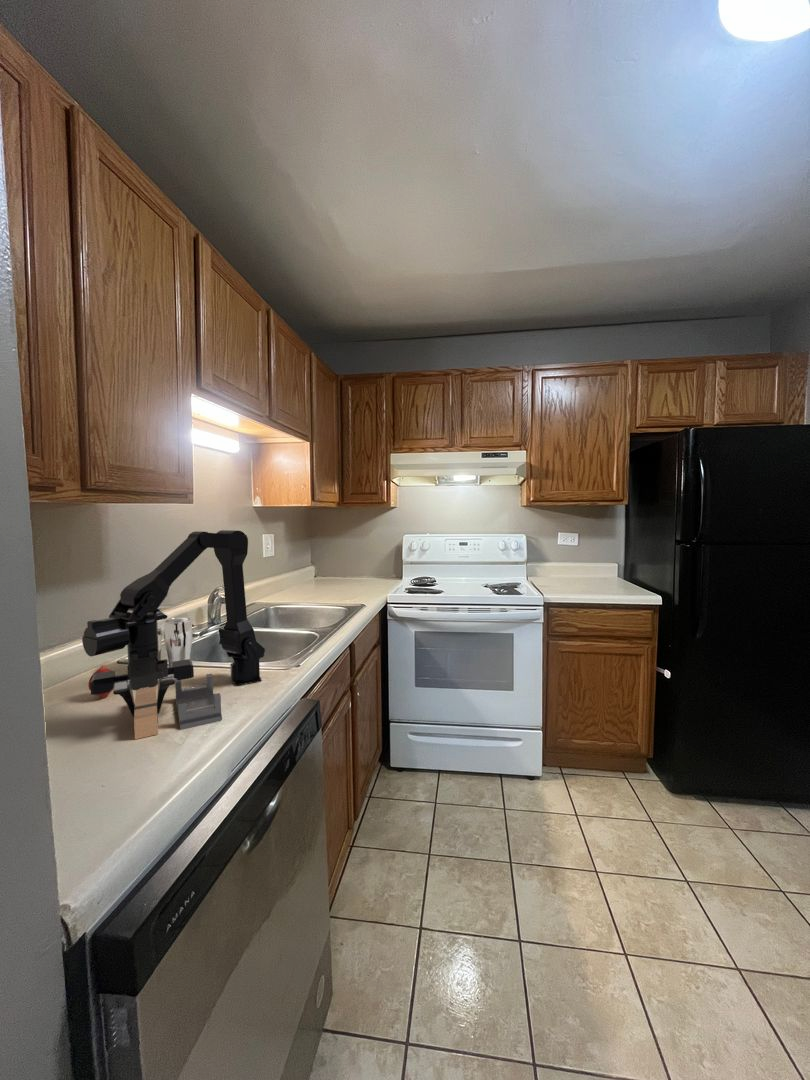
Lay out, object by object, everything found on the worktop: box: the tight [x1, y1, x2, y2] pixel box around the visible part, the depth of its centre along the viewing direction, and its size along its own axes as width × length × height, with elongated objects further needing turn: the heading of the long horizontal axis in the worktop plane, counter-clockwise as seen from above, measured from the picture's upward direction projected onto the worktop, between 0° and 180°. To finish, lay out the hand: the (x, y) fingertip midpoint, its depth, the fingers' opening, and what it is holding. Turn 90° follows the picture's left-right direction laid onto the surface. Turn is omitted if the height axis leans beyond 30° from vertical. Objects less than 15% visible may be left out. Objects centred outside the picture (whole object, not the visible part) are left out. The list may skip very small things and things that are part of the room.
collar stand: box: [174, 673, 223, 731], centre depth 103 cm, size 8×18×5 cm, turn 29°
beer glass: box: [163, 616, 193, 667], centre depth 126 cm, size 7×7×15 cm
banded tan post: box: [133, 686, 159, 740], centre depth 98 cm, size 4×18×4 cm, turn 29°
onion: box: [87, 664, 117, 699], centre depth 110 cm, size 6×6×8 cm
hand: (146, 714), depth 98 cm, fingers closed on banded tan post, 4 cm apart
